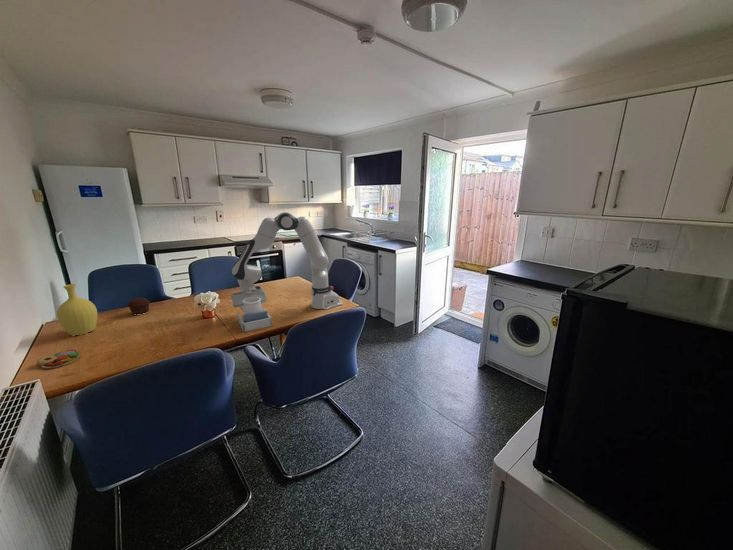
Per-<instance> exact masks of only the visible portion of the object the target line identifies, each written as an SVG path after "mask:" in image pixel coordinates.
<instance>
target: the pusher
mask: <svg viewBox="0 0 733 550" xmlns="http://www.w3.org/2000/svg"><path fill="white" fill-rule="evenodd" d="M267 312H268V311H267V309H266V311H263V310H262V311H260V312H256V313H250V314H243V315H242V316H243V317H242V319H243V322H244V323H246V322H251V321H256V320H261V319H266V318H268V315H267Z"/></svg>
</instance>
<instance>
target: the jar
mask: <svg viewBox="0 0 733 550" xmlns="http://www.w3.org/2000/svg"><path fill="white" fill-rule="evenodd" d="M260 301H261V298H259V297H250V298H246V299H244V300H243V304H244V306H242V308H243V309H244V312H243V313H244V314H243V315H245V314H250V313H256V312H260V311H263V306H262V305H261V302H260Z"/></svg>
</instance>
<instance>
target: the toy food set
mask: <svg viewBox="0 0 733 550" xmlns="http://www.w3.org/2000/svg"><path fill="white" fill-rule="evenodd" d="M79 357H80V352H78V351H77V350H76V349H70V350H69V349H68V350H66V351H64V352H57V353H54V355H47V356H43V357H40V358H38V359H37V361H36V365H37V366H40V367H41V368H43V369H57V368H60V367H64V366H67V365H70V364H71V362H72V363H74V362H75V361H77V359H79ZM74 360H75V361H74ZM73 361H74V362H73ZM69 363H70V364H69ZM66 364H67V365H66Z"/></svg>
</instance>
